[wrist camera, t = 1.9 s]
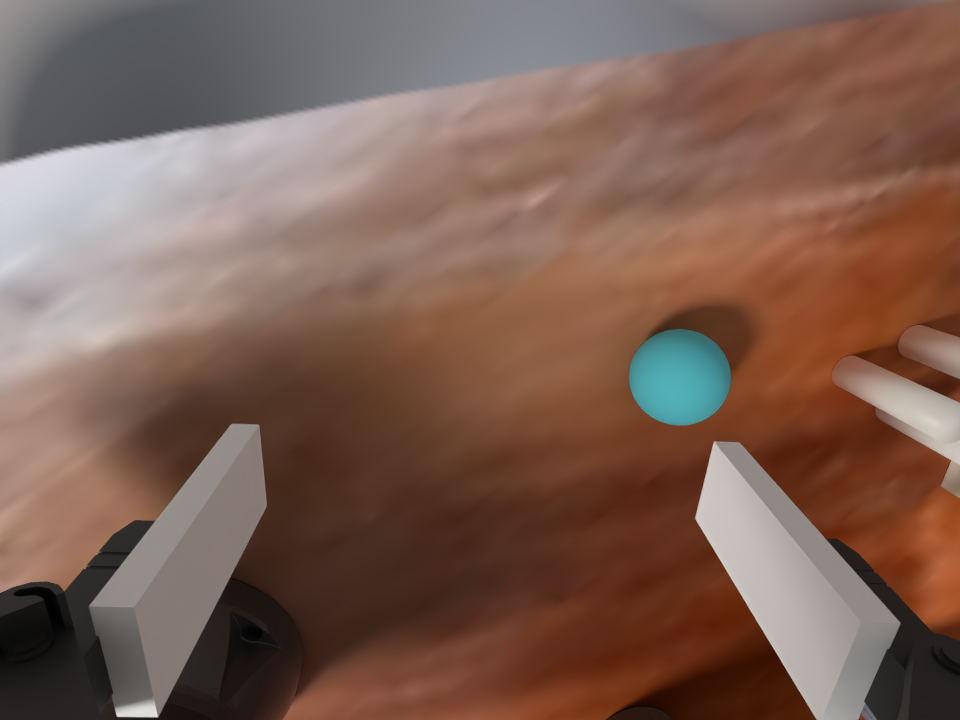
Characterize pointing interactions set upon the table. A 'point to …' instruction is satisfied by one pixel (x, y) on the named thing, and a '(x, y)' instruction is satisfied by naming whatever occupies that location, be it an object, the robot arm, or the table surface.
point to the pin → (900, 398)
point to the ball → (679, 377)
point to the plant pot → (641, 714)
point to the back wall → (952, 479)
